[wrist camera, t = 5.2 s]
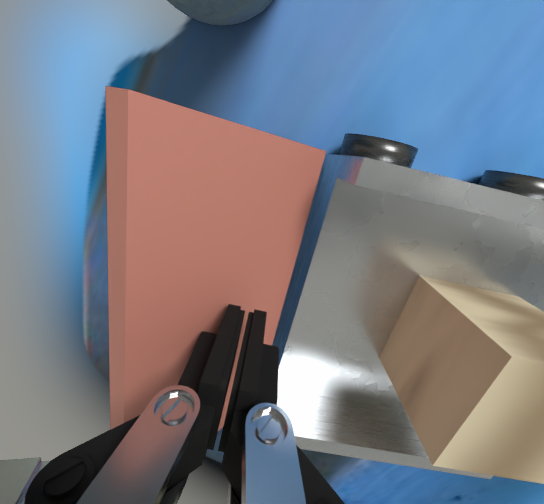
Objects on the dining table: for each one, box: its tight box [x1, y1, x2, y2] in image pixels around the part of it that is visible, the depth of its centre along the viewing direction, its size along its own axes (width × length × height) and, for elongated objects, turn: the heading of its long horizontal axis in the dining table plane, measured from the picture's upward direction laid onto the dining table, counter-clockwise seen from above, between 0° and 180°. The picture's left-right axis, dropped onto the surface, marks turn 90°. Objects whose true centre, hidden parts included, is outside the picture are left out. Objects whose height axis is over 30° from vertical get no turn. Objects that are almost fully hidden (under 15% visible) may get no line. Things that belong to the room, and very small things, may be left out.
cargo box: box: [379, 275, 544, 484], centre depth 13 cm, size 6×6×6 cm
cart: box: [272, 134, 544, 479], centre depth 16 cm, size 14×18×8 cm
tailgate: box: [106, 86, 326, 431], centre depth 12 cm, size 1×16×9 cm
